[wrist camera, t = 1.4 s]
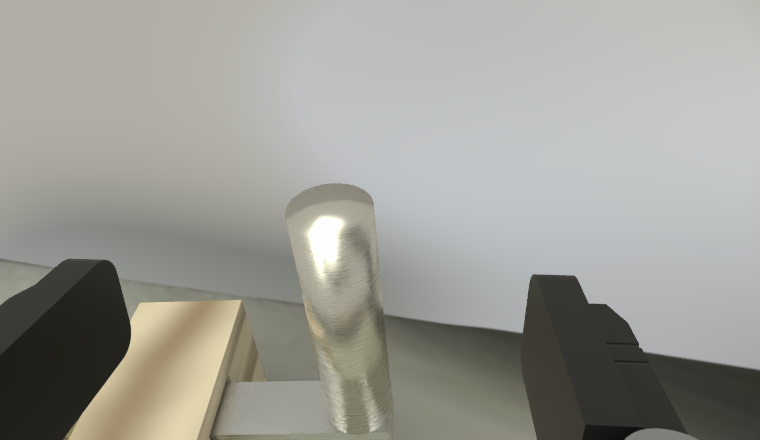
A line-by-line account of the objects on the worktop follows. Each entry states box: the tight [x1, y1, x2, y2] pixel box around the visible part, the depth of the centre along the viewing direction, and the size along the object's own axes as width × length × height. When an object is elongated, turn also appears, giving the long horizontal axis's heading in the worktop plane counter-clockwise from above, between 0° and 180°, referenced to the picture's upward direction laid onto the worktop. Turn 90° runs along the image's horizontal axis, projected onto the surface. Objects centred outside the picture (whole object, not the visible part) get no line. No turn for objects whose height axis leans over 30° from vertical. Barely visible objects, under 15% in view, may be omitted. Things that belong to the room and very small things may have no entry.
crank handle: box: [63, 184, 394, 440], centre depth 25 cm, size 22×3×15 cm, turn 88°
